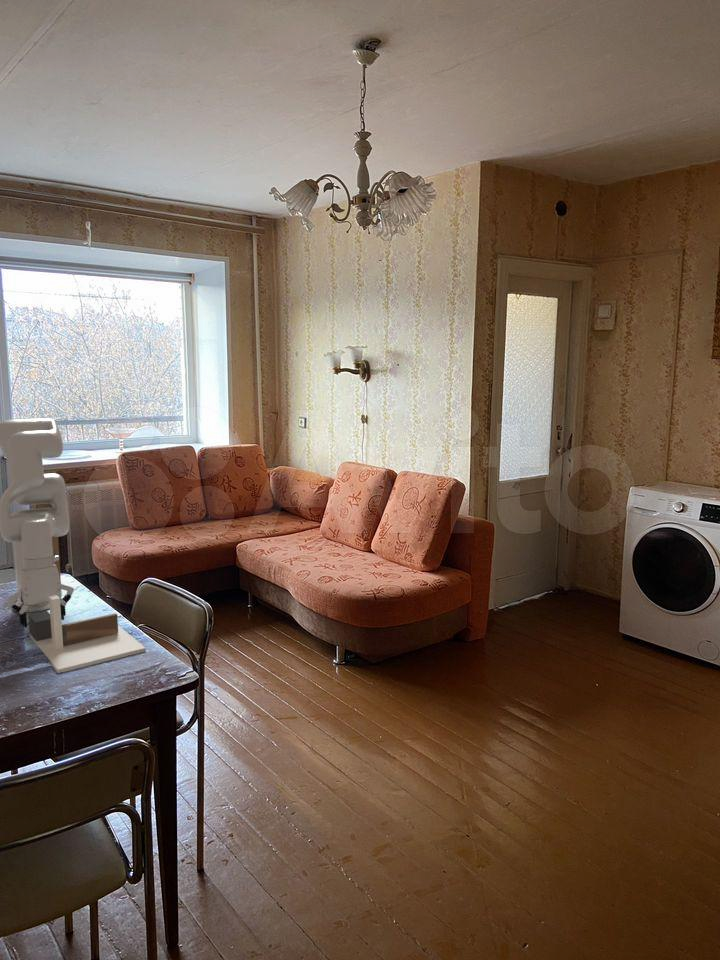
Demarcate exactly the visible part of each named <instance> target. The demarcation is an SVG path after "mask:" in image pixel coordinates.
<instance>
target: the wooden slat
mask: <svg viewBox="0 0 720 960" xmlns="http://www.w3.org/2000/svg"><path fill="white" fill-rule="evenodd" d="M118 626H119V621H118V614H117V613H116V612H115V613H112V614H106V615H102V616H101V615H100V616H96V617H93V618H88V619H87V618H86V619H82V620H79V621H73V622H68V623H63V624H62V636H63V645H69V644H73V643H77V642H82V641H86V640H90V639H95V638H99V637H103V636H108V635H112V634H116V633H118Z"/></svg>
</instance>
